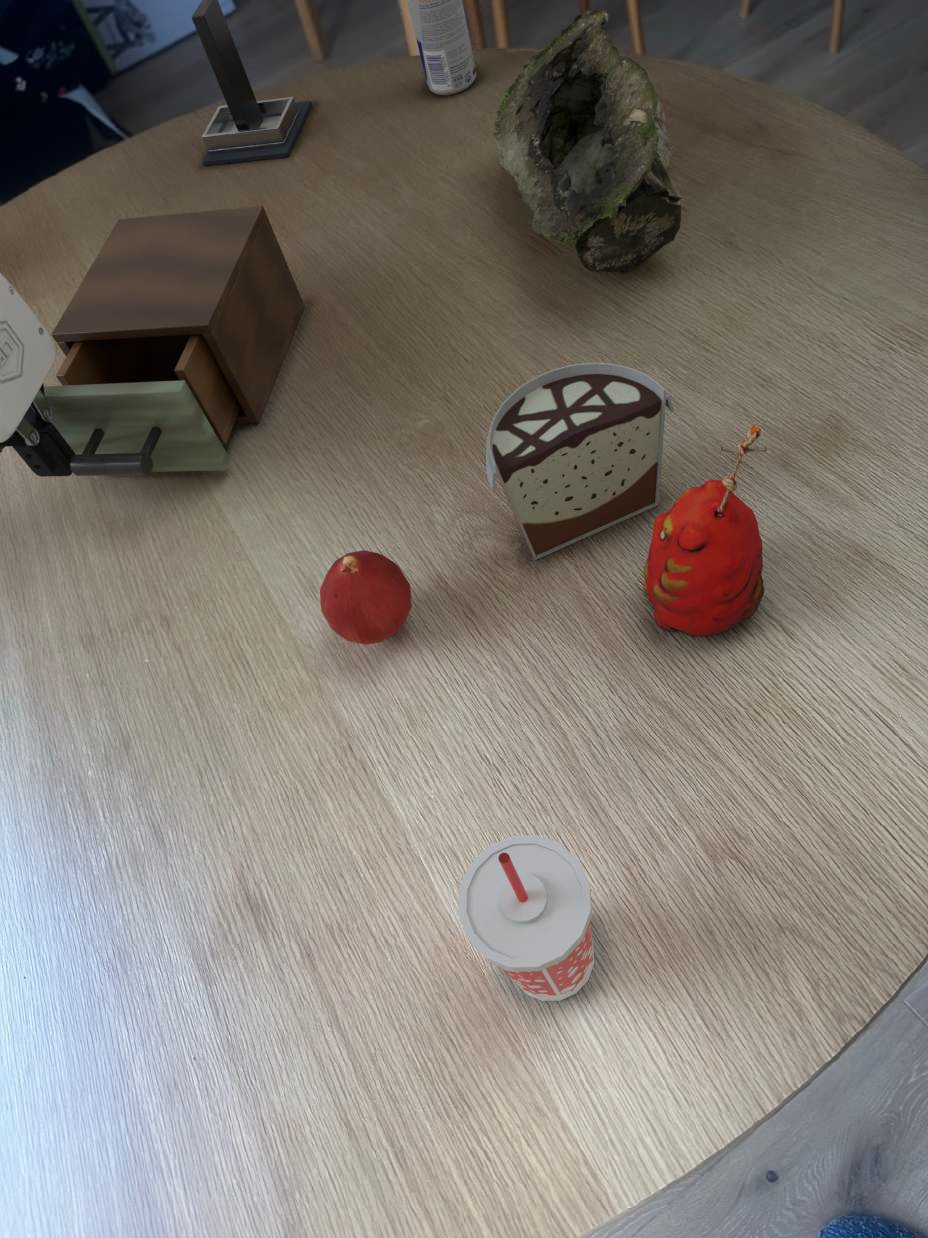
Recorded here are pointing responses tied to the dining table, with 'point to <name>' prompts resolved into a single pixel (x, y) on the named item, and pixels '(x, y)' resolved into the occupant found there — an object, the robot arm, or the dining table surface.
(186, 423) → the drawer
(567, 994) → the beverage cup
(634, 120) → the mossy hollow log
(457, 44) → the energy drink
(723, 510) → the red clay folk toy
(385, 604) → the onion
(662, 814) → the dining table surface
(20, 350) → the robot arm
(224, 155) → the desk mat
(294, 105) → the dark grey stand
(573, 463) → the food container
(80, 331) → the cabinet
